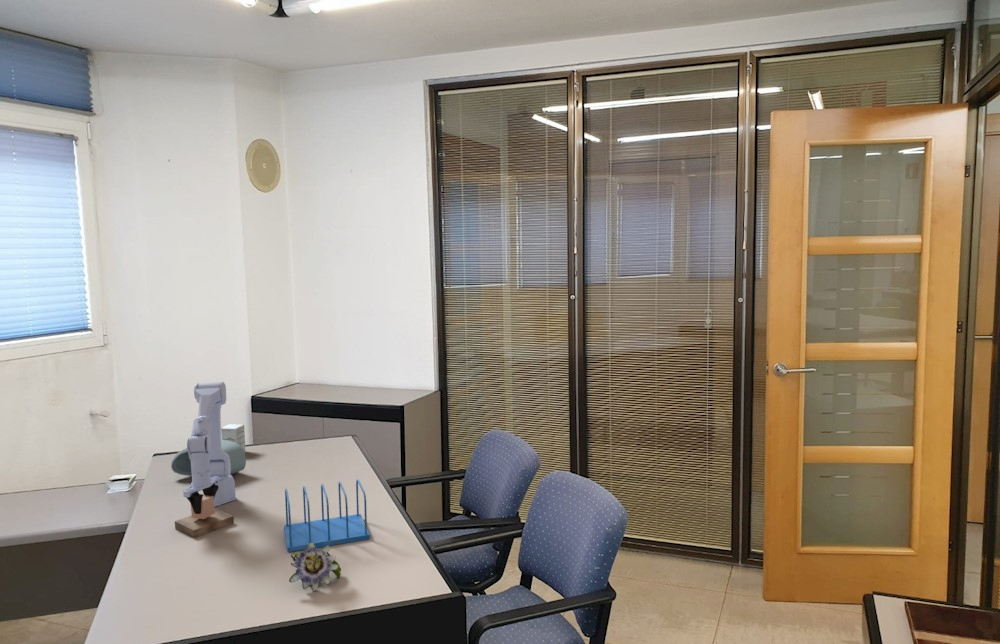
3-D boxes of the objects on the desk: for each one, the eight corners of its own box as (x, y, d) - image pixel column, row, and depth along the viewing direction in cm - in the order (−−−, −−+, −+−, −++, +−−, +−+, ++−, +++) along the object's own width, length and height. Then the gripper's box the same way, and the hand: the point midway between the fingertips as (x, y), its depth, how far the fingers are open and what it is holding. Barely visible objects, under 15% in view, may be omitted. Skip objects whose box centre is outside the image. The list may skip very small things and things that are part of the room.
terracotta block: (202, 511, 235) (201, 494, 234) (214, 513, 233) (213, 496, 232) (191, 517, 230) (190, 500, 229) (204, 519, 228) (202, 501, 228)
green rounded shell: (246, 475, 281) (245, 444, 279) (205, 490, 265) (202, 457, 263) (213, 465, 292) (211, 436, 291) (170, 479, 277) (168, 448, 275)
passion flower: (316, 611, 190) (287, 584, 183) (304, 584, 200) (276, 557, 193) (353, 579, 193) (326, 551, 186) (340, 554, 203) (314, 527, 196)
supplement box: (221, 456, 305) (220, 428, 303) (231, 450, 312) (229, 423, 311) (237, 456, 304) (235, 428, 302) (246, 451, 311) (244, 424, 309)
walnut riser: (214, 514, 241) (214, 507, 241) (233, 523, 234) (233, 515, 234) (175, 528, 230) (174, 521, 230) (194, 537, 223) (193, 530, 223)
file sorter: (287, 553, 211) (285, 505, 209) (284, 530, 228) (281, 485, 226) (370, 539, 220) (368, 493, 218) (360, 518, 236) (359, 475, 234)
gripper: (206, 462, 238) (209, 500, 239) (174, 477, 224) (177, 517, 226) (223, 464, 235) (226, 503, 237) (192, 479, 222) (195, 519, 223)
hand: (203, 510), depth 231 cm, fingers closed on terracotta block, 5 cm apart
